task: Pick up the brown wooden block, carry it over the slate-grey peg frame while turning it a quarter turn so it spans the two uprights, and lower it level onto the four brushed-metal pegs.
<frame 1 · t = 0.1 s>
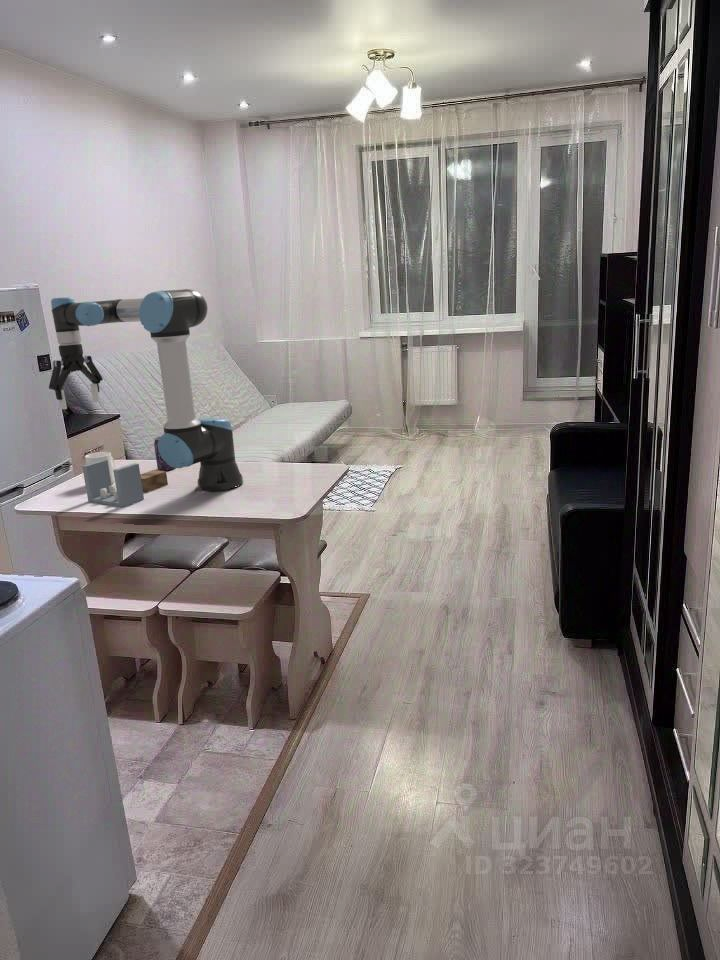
hand: (80, 405, 250), 28 cm above the table, fingers open, 13 cm apart
beverage can: (167, 469, 270), on the table
mug: (106, 483, 256), on the table
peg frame: (116, 500, 234), on the table
brown wooden block: (151, 488, 246), on the table
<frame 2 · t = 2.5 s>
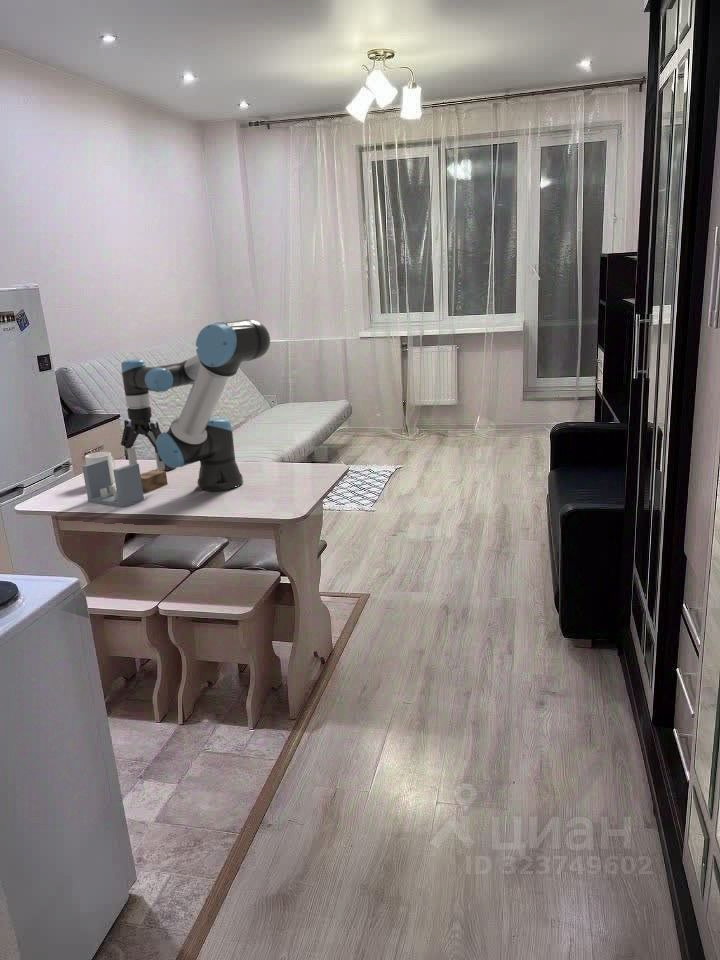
hand: (147, 468, 244), 7 cm above the table, fingers open, 13 cm apart
nothing on the table moved.
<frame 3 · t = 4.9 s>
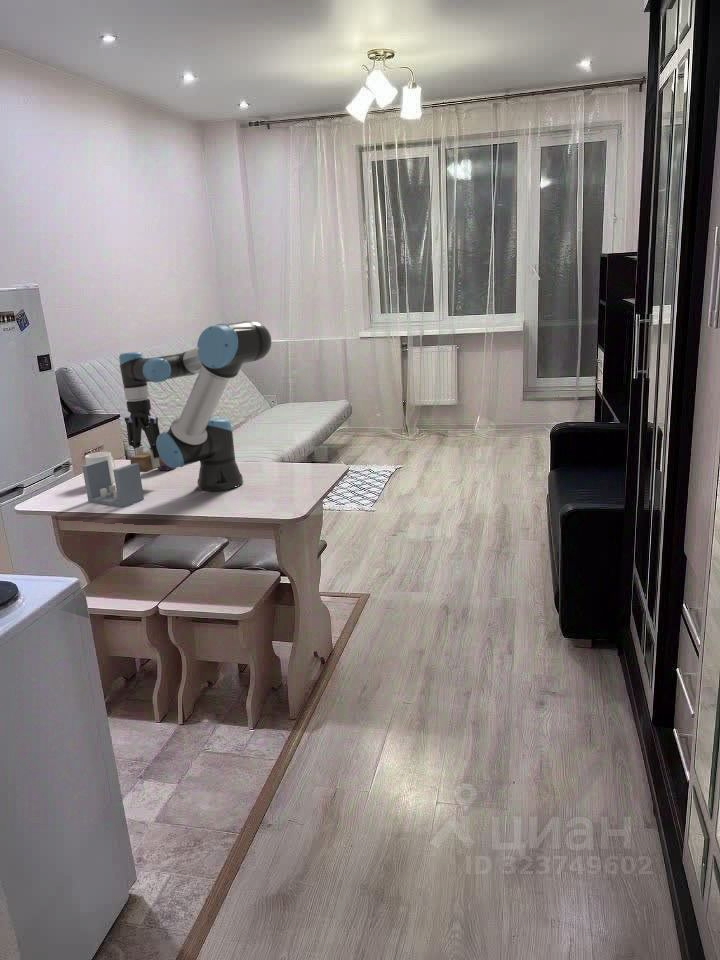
hand: (149, 466, 243), 8 cm above the table, fingers closed on brown wooden block, 6 cm apart
brown wooden block: (149, 468, 243), point 7 cm above the table, touching gripper
everything else where it was.
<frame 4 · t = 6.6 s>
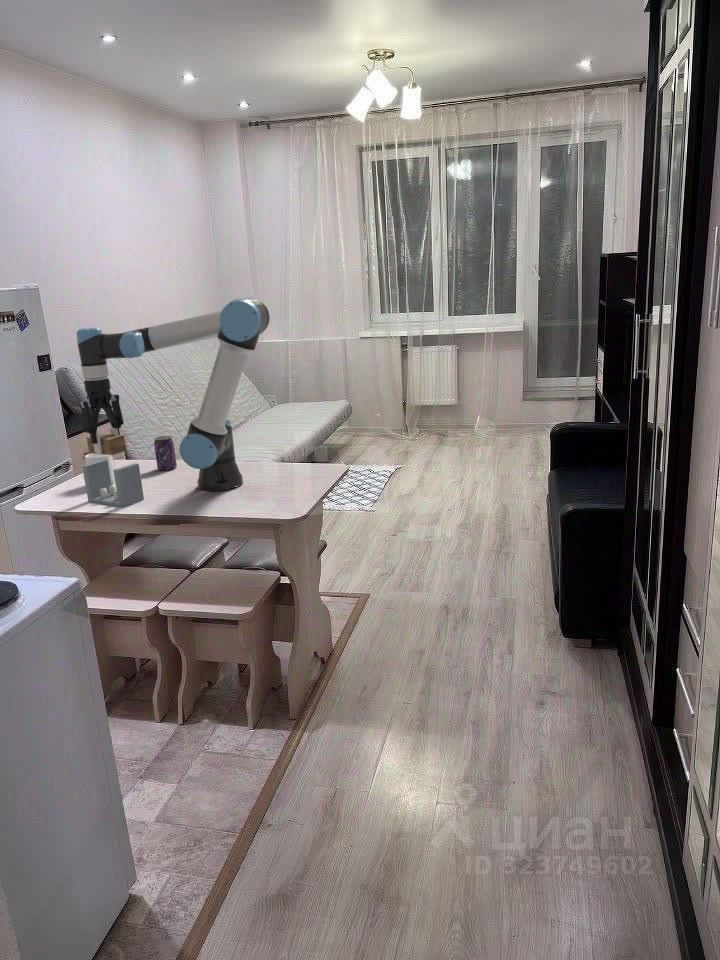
hand: (107, 450, 229), 17 cm above the table, fingers closed on brown wooden block, 6 cm apart
brown wooden block: (107, 451, 229), point 16 cm above the table, touching gripper
everything else where it was.
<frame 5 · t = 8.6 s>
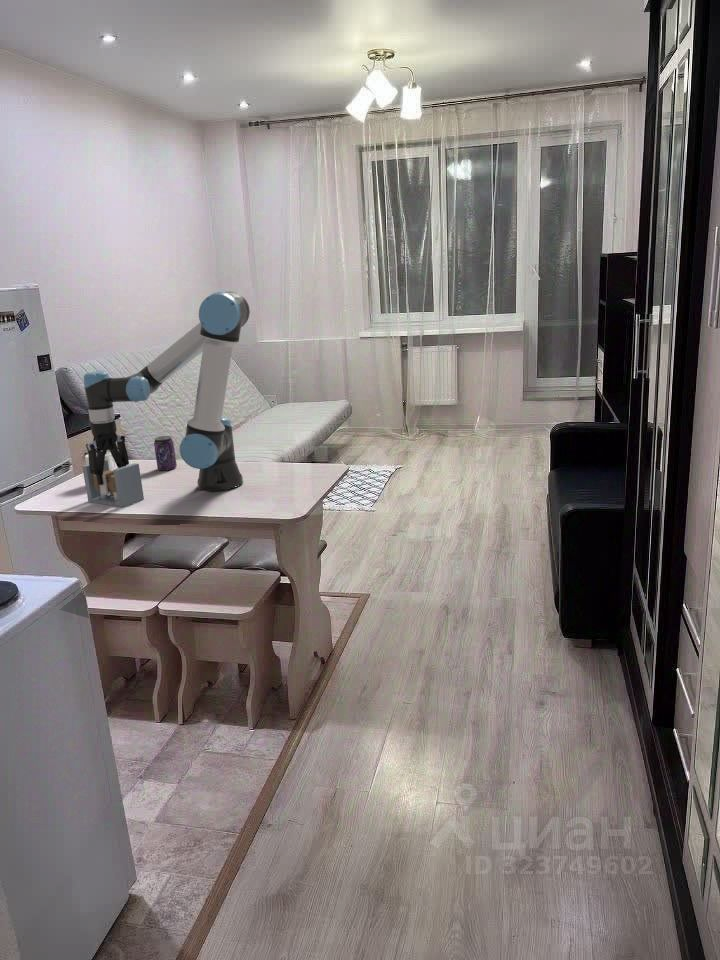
hand: (113, 490, 233), 3 cm above the table, fingers closed on brown wooden block, 6 cm apart
brown wooden block: (113, 488, 233), point 4 cm above the table, touching gripper, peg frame
everything else where it was.
when the fingers open (3 cm above the table, at t = 8.7 s): brown wooden block stays where it is, resting on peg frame.
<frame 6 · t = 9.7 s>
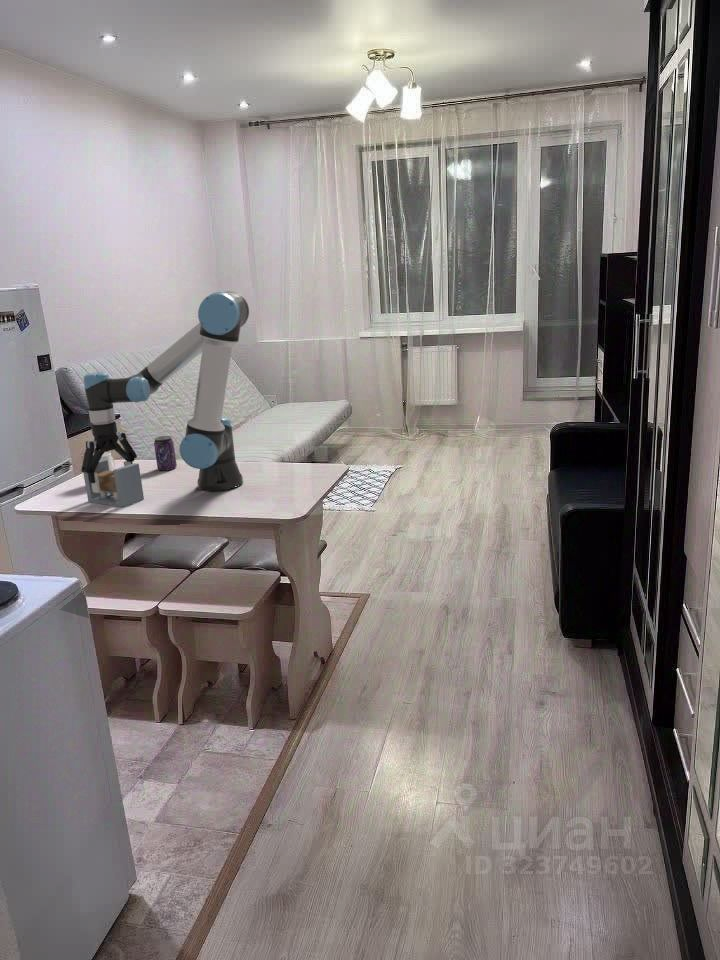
hand: (113, 486, 232), 5 cm above the table, fingers open, 13 cm apart
brown wooden block: (113, 488, 233), point 4 cm above the table, touching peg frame
everything else where it was.
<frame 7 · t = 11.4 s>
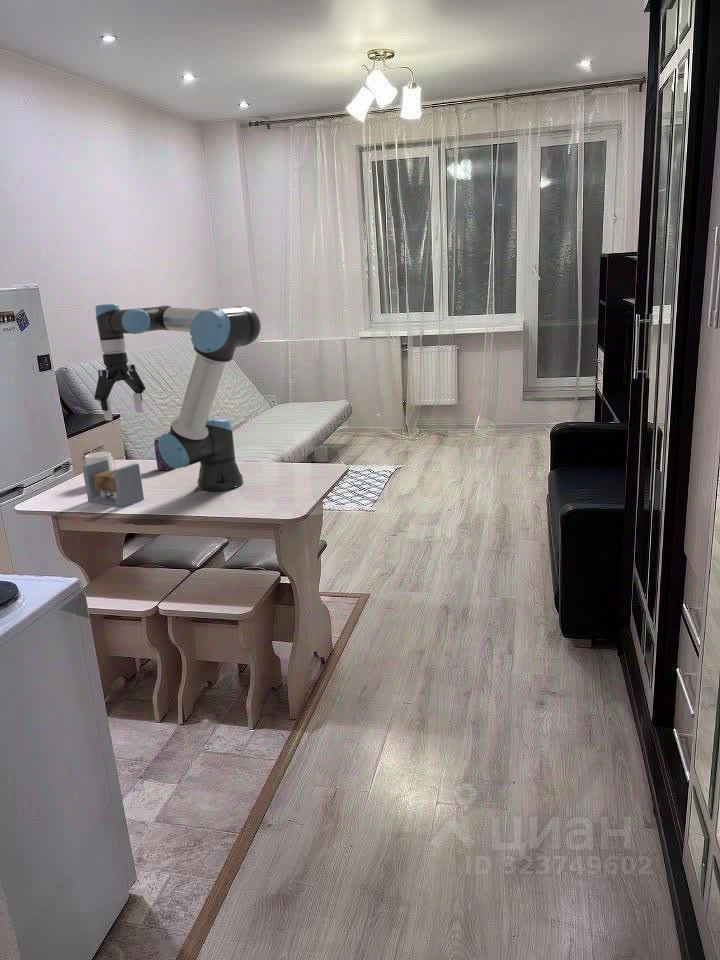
hand: (124, 416, 241), 25 cm above the table, fingers open, 13 cm apart
nothing on the table moved.
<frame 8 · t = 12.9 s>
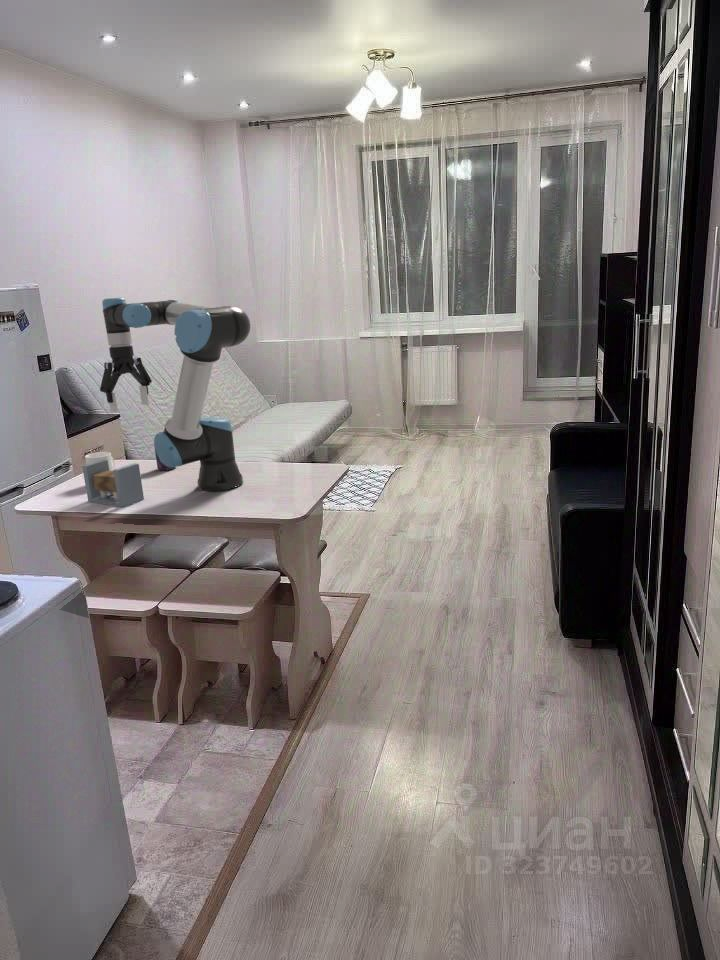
hand: (130, 408, 245), 27 cm above the table, fingers open, 13 cm apart
nothing on the table moved.
at the end: brown wooden block 0.3 cm off-centre on the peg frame, point 4.0 cm above the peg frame's base; brown wooden block tilted 0°; the gripper is holding nothing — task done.
